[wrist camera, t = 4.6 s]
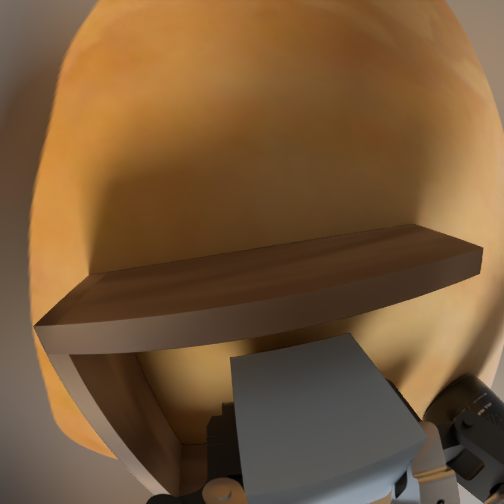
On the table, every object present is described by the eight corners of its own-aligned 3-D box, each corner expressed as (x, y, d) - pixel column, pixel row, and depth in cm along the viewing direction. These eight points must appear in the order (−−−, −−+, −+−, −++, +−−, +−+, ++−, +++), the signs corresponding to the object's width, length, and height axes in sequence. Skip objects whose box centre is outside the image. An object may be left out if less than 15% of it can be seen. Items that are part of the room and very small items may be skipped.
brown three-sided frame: (88, 275, 10) (33, 326, 6) (413, 223, 11) (483, 247, 7) (171, 452, 14) (168, 506, 9) (386, 409, 15) (415, 452, 11)
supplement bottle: (456, 367, 15) (541, 454, 4) (481, 374, 17) (548, 439, 5) (406, 429, 17) (467, 521, 5) (439, 426, 18) (493, 496, 7)
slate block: (230, 357, 10) (245, 496, 4) (349, 332, 10) (428, 436, 5) (247, 428, 12) (264, 530, 6) (341, 407, 12) (386, 495, 6)
